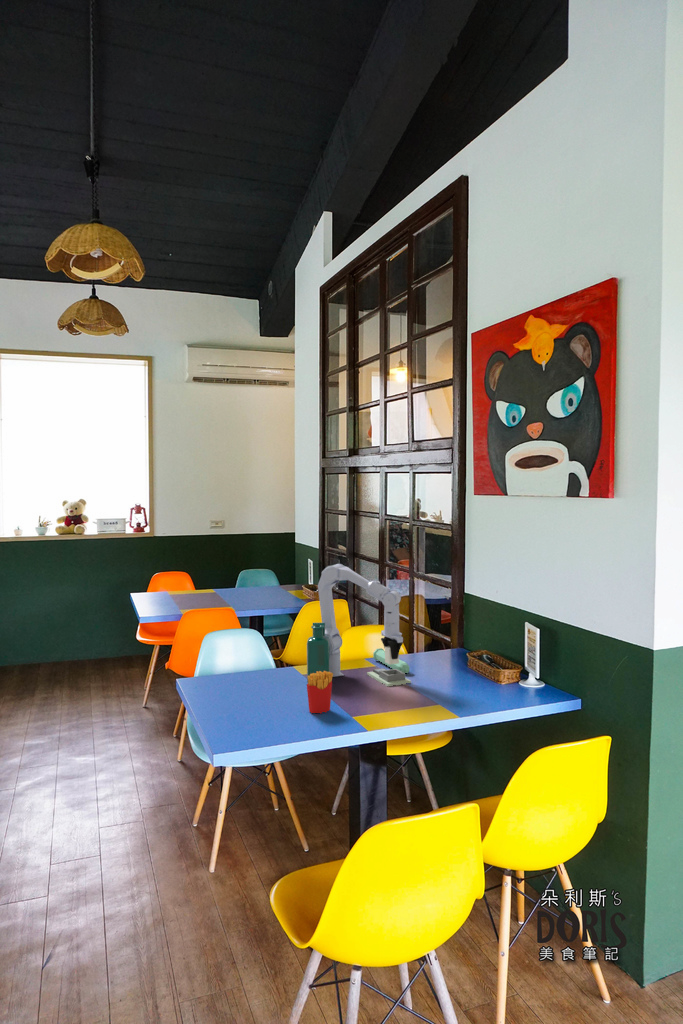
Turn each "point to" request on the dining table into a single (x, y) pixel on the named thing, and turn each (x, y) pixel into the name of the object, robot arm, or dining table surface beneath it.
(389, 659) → the block
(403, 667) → the container
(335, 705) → the dining table surface
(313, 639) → the green bottle
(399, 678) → the outlet plate
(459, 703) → the dining table surface
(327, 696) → the french fries
